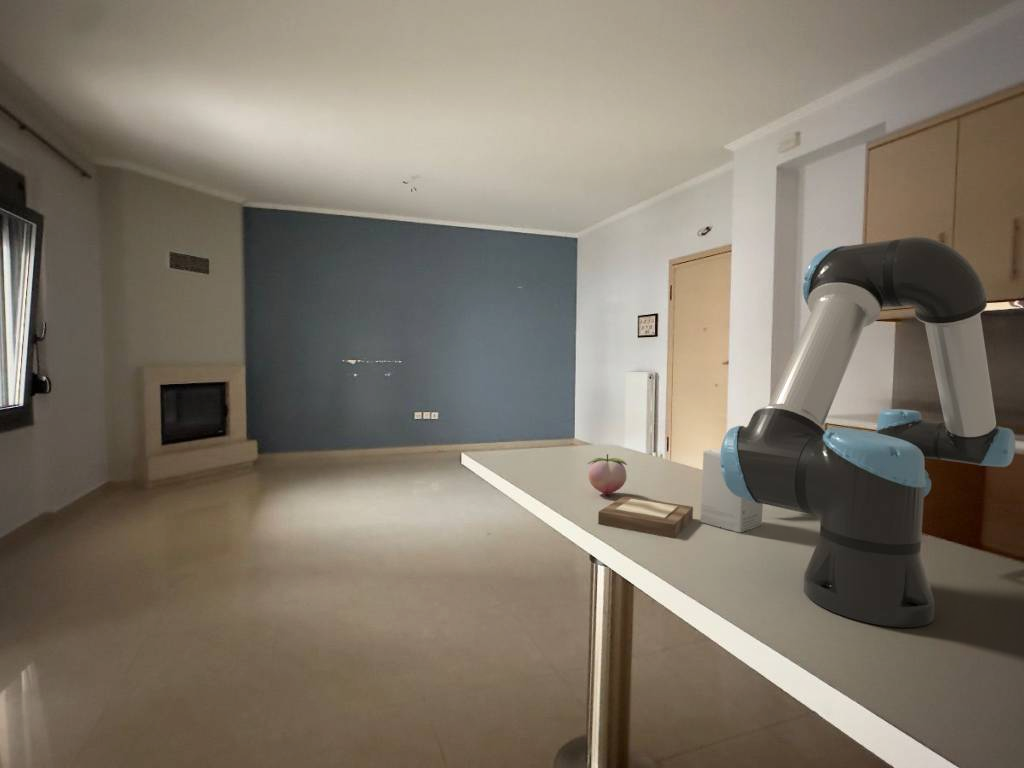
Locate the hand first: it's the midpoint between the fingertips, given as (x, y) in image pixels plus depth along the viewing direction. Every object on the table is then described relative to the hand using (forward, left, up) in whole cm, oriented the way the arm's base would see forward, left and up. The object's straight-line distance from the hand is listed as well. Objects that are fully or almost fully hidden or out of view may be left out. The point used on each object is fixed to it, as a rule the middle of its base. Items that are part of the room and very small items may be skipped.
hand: (761, 484), depth 112 cm
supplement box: (-5, +5, -8) cm, 11 cm away
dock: (-13, +20, -8) cm, 25 cm away
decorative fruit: (+3, +35, -8) cm, 36 cm away
